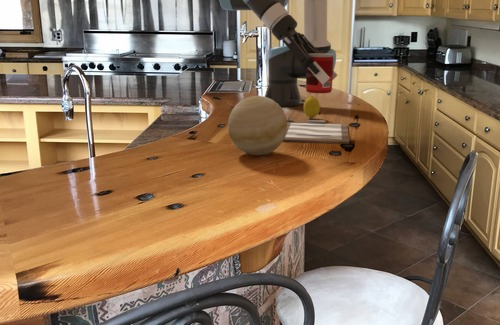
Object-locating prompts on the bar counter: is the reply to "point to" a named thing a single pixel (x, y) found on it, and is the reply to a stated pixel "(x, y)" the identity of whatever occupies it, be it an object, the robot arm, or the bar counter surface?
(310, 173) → the bar counter surface
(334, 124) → the clipboard
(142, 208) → the bar counter surface
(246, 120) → the decorative ball
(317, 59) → the canned food
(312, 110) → the lemon
